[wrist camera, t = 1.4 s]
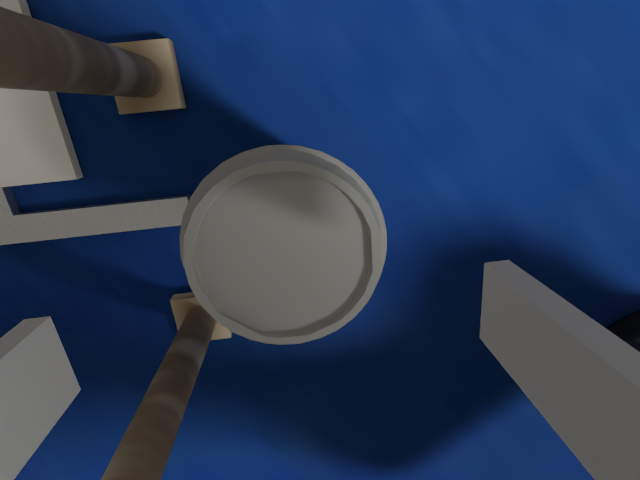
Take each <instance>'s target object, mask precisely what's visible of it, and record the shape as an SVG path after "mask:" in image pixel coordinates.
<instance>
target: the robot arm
mask: <svg viewBox="0 0 640 480" xmlns="http://www.w3.org/2000/svg"><path fill="white" fill-rule="evenodd" d="M480 339H481V340H482V342H483V343H484V344H485V345H486V347H487V348H488V349H489V350H490V351H491V353H492V354H493V355H494V356H495V358H496V359H497V360H498V361H499V363H500V364H501V365H502V366H503V367H504V369H505V370H506V371H507V372H508V374H509V375H510V376H511V377H512V379H513V380H514V381H515V382H516V383H517V385H518V386H519V387H520V388H521V390H522V391H523V392H524V393H525V395H526V396H527V397H528V398H529V399H530V401H531V402H532V403H533V404H534V406H535V407H536V408H537V409H538V411H539V412H540V413H541V414H542V416H543V417H544V418H545V419H546V420H547V422H548V423H549V424H550V425H551V427H552V428H553V429H554V430H555V432H556V433H557V434H558V435H559V436H560V438H561V439H562V440H563V441H564V443H565V444H566V445H567V446H568V448H569V449H570V450H571V451H572V452H573V454H574V455H575V456H576V457H577V459H578V460H579V461H580V462H581V464H582V465H583V466H584V467H585V468H586V470H587V471H588V472H589V473H590V475H591V476H592V477H593V478H594V480H640V312H638V313H636V314H633V315H631V316H629V317H627V318H625V319H623V320H621V321H619V322H618V323H616V324H615V325H613V326H612V327H610V328H609V329H608V330H607V329H606V328H605V327H603V326H602V325H600V324H599V323H598V322H596V321H595V320H593V319H592V318H590V317H589V316H588V315H586V314H585V313H583V312H582V311H581V310H579V309H578V308H576V307H575V306H573V305H572V304H571V303H569V302H568V301H566V300H565V299H564V298H562V297H561V296H559V295H558V294H556V293H555V292H554V291H552V290H551V289H549V288H548V287H546V286H545V285H544V284H542V283H541V282H539V281H538V280H537V279H535V278H534V277H532V276H531V275H529V274H528V273H527V272H525V271H524V270H522V269H521V268H520V267H518V266H517V265H515V264H514V263H512V262H511V261H510V260H503V261H495V262H487V263H484V275H483V291H482V307H481V322H480ZM80 390H81V388H80V386H79V384H78V381H77V379H76V376H75V374H74V372H73V369H72V367H71V364H70V362H69V360H68V357H67V355H66V352H65V350H64V348H63V345H62V343H61V340H60V338H59V336H58V333H57V331H56V328H55V326H54V324H53V321H52V319H51V317H50V316H48V317H40V318H32V319H24V320H23V321H21V322H20V323H19V324H18V325H16V326H15V327H14V328H13V329H11V330H10V331H9V332H7V333H6V334H5V335H4V336H2V337H1V338H0V480H14V479H15V477H16V476H17V475H18V473H19V472H20V471H21V469H22V468H23V467H24V465H25V464H26V463H27V461H28V460H29V459H30V457H31V456H32V455H33V453H34V452H35V451H36V449H37V448H38V447H39V445H40V444H41V443H42V441H43V440H44V439H45V437H46V436H47V435H48V433H49V432H50V431H51V429H52V428H53V427H54V425H55V424H56V423H57V421H58V420H59V419H60V417H61V416H62V414H63V413H64V412H65V410H66V409H67V408H68V406H69V405H70V404H71V402H72V401H73V400H74V398H75V397H76V396H77V394H78V393H79V392H80Z"/></svg>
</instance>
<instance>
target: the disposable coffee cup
mask: <svg viewBox="0 0 640 480" xmlns="http://www.w3.org/2000/svg"><path fill="white" fill-rule="evenodd" d="M179 240H180V253H181V260H182V263H183V266H184V269H185V272H186V275H187V279H188V283H189V286H190V288H191V289H192V291H193V293H194V295H195V297H196V299H197V301H198V302H199V303H200V304H201V305H202V307H203V308H204V309H205V310H206V311H207V312H208V313H209V314H210V315H211V316H212V317H213V318H214V319H215V320H216V321H217V322H218V323H219V324H221V325H222V326H224V327H226V328H227V329H229V330H230V331H232V332H233V333H235V334H238V335H240V336H243V337H245V338H248V339H250V340H253V341H258V342H262V343H267V344H278V345H283V344H301V343H304V342H308V341H312V340H315V339H319V338H322V337H324V336H326V335H328V334H330V333H332V332H335V331H337V330H338V329H340V328H341V327H342V326H344V325H345V324H346V323H348V322H349V321H351V320H352V319H353V318H354V317H355V316H356V315H357V314H358V313H359V312H360V311H361V310H362V308H363V307H364V306H365V305H366V303H367V302H368V300H369V299H370V297H371V295H372V293H373V291H374V289H375V287H376V285H377V283H378V280H379V278H380V275H381V272H382V269H383V266H384V262H385V257H386V250H387V234H386V226H385V222H384V217H383V214H382V212H381V209H380V206H379V203H378V201H377V200H376V198H375V196H374V195H373V193H372V191H371V190H370V188H369V187H368V186H367V184H366V183H365V182H364V181H363V180H362V179H361V178H360V177H359V176H358V175H357V174H356V173H355V171H353V170H352V169H351V168H349V167H348V166H347V165H345V164H344V163H342V162H341V161H339V160H338V159H336V158H334V157H332V156H330V155H328V154H326V153H323V152H321V151H318V150H314V149H310V148H306V147H303V146H296V145H268V146H262V147H258V148H254V149H251V150H247V151H244V152H242V153H240V154H238V155H236V156H234V157H232V158H230V159H228V160H226V161H224V162H222V163H221V164H220V165H219V166H218V167H216V168H215V169H214V170H213V171H212V172H211V173H209V174H208V175H207V176H206V177H205V178H204V179H203V180H202V181H201V183H200V184H199V185H198V187H197V188H196V190H195V191H194V193H193V194H192V196H191V197H190V199H189V202H188V204H187V207H186V209H185V211H184V214H183V217H182V223H181V230H180V236H179Z"/></svg>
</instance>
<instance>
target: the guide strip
mask: <svg viewBox="0 0 640 480" xmlns="http://www.w3.org/2000/svg"><path fill="white" fill-rule="evenodd" d="M190 197H191V195H190V194H189V195H180V196H171V197H161V198H152V199H143V200H134V201H124V202H115V203H106V204H96V205H87V206H78V207H69V208H59V209H50V210H41V211H31V212H22V213H21V211H20V208H19V206H18V203H17V201H16V198H15V196H14V193H13V191H12V188H11V186H9V187H0V245H7V244H16V243H25V242H34V241H43V240H52V239H61V238H70V237H79V236H88V235H97V234H106V233H115V232H125V231H134V230H143V229H152V228H161V227H170V226H179V225H181V223H182V217H183V214H184V211H185V209H186V207H187V204H188V202H189V199H190Z"/></svg>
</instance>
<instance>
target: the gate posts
mask: <svg viewBox="0 0 640 480" xmlns="http://www.w3.org/2000/svg"><path fill="white" fill-rule="evenodd" d="M0 88H6V89H21V90H35V91H50V92H64V93H79V94H94V95H108V96H114V97H115V100H116V104H117V108H118V111H119V114H133V113H143V112H153V111H163V110H173V109H183V108H186V104H185V99H184V94H183V89H182V85H181V80H180V75H179V70H178V65H177V61H176V56H175V51H174V46H173V42H172V41H171V40H170V39H168V38H164V39H153V40H143V41H132V42H121V43H110V44H107V43H104V42H101V41H98V40H95V39H92V38H89V37H87V36H84V35H81V34H78V33H75V32H72V31H69V30H66V29H64V28H61V27H58V26H55V25H52V24H49V23H46V22H43V21H40V20H38V19H35V18H32V17H29V16H26V15H23V14H20V13H17V12H15V11H12V10H9V9H6V8H3V7H0ZM170 303H171V307H172V311H173V314H174V318H175V322H176V325H177V329H178V332H177V334H176V336H175V337H174V339H173V341H172V343H171V345H170V347H169V349H168V351H167V353H166V355H165V357H164V359H163V361H162V363H161V365H160V366H159V368H158V370H157V372H156V374H155V376H154V378H153V380H152V382H151V384H150V386H149V388H148V390H147V392H146V394H145V396H144V397H143V399H142V401H141V403H140V405H139V407H138V409H137V411H136V413H135V415H134V417H133V419H132V421H131V423H130V425H129V427H128V428H127V430H126V432H125V434H124V436H123V438H122V440H121V442H120V444H119V446H118V448H117V450H116V452H115V454H114V456H113V457H112V459H111V461H110V463H109V465H108V467H107V469H106V471H105V473H104V475H103V477H102V479H101V480H161V477H162V474H163V472H164V469H165V466H166V463H167V460H168V458H169V455H170V452H171V449H172V446H173V443H174V441H175V438H176V435H177V432H178V429H179V427H180V424H181V421H182V418H183V415H184V413H185V410H186V407H187V404H188V401H189V399H190V396H191V393H192V390H193V387H194V385H195V382H196V379H197V376H198V373H199V370H200V368H201V365H202V362H203V359H204V356H205V354H206V351H207V348H208V345H209V342H210V340H217V339H225V338H231V336H232V333H233V332H232V331H230V330H229V329H227V328H226V327H224V326H222V325H221V324H219V323H218V322H217V321H216V320H215V319H214V318H213V317H212V316H211V315H210V314H209V313H208V312H207V311H206V310H205V309H204V308H203V307H202V305H201V304H200V303H199V302H198V301H197V299H196V297H195V295H194V293H193V292H189V293H180V294H174V295H173V296H172V298H171V299H170Z"/></svg>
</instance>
